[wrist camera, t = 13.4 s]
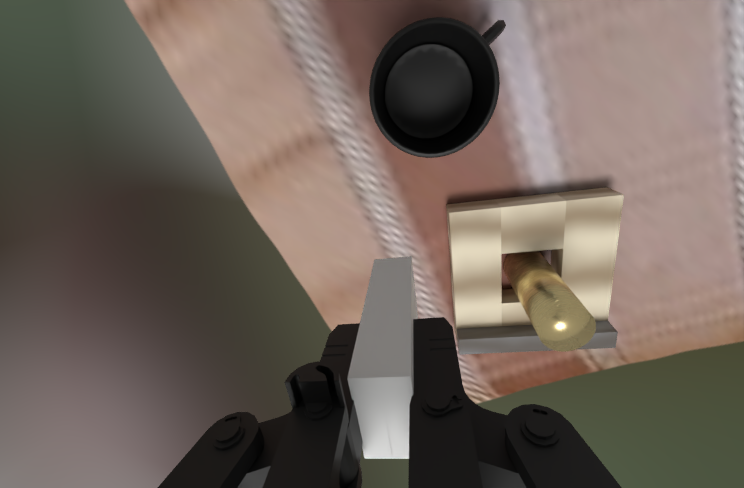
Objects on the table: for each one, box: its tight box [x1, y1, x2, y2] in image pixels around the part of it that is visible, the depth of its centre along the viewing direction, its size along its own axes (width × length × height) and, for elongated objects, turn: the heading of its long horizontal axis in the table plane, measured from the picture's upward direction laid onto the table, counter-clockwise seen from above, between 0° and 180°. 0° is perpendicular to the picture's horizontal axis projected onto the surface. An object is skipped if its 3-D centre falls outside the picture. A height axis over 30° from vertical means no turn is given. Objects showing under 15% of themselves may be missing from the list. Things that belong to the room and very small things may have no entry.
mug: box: [369, 17, 506, 158], centre depth 29 cm, size 9×12×9 cm
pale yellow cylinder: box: [503, 251, 596, 351], centre depth 34 cm, size 4×4×12 cm
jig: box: [446, 187, 624, 354], centre depth 37 cm, size 16×16×5 cm
